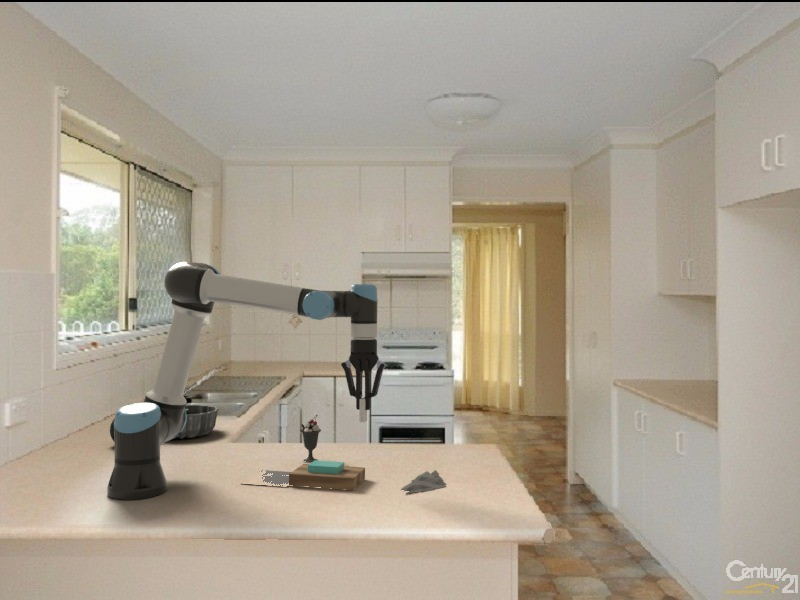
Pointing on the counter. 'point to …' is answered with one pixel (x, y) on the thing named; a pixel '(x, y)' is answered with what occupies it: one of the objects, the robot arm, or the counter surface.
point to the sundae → (310, 437)
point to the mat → (276, 477)
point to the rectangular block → (326, 467)
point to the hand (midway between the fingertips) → (363, 421)
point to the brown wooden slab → (328, 478)
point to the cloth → (425, 483)
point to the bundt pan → (198, 421)
